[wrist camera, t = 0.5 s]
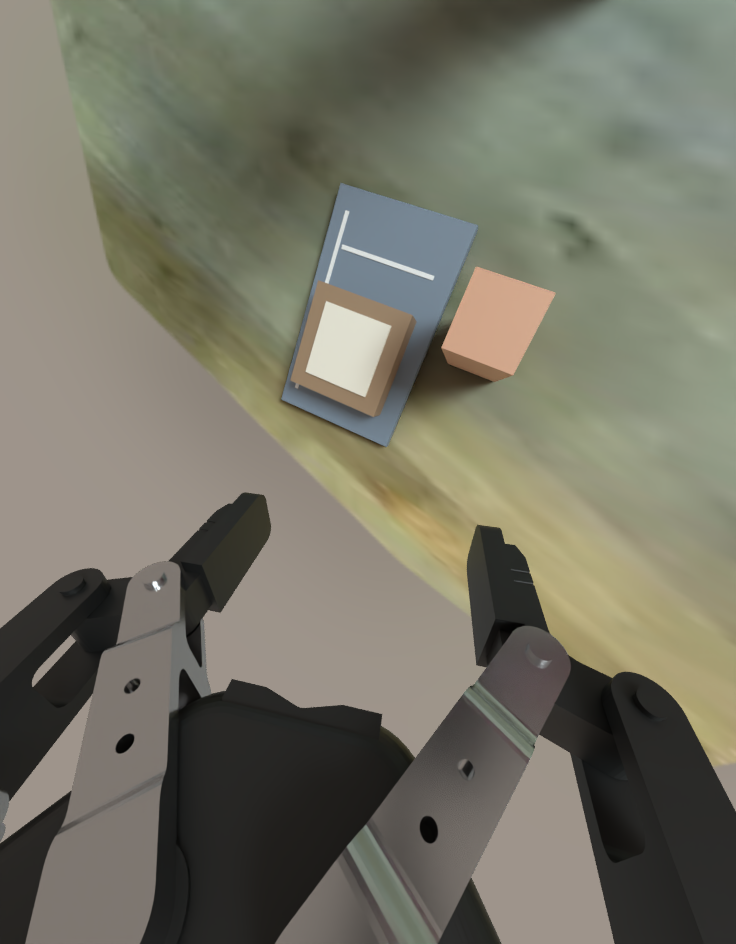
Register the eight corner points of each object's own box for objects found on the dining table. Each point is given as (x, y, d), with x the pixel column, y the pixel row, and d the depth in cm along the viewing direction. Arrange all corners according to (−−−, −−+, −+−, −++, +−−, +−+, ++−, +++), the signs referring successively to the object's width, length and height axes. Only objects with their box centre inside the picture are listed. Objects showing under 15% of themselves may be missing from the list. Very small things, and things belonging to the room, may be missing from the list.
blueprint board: (344, 189, 31) (328, 161, 27) (477, 230, 29) (480, 206, 25) (285, 399, 38) (266, 399, 34) (388, 445, 36) (379, 451, 32)
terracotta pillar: (470, 313, 30) (476, 266, 19) (519, 331, 29) (555, 293, 18) (448, 363, 32) (441, 347, 21) (494, 381, 31) (512, 375, 20)
